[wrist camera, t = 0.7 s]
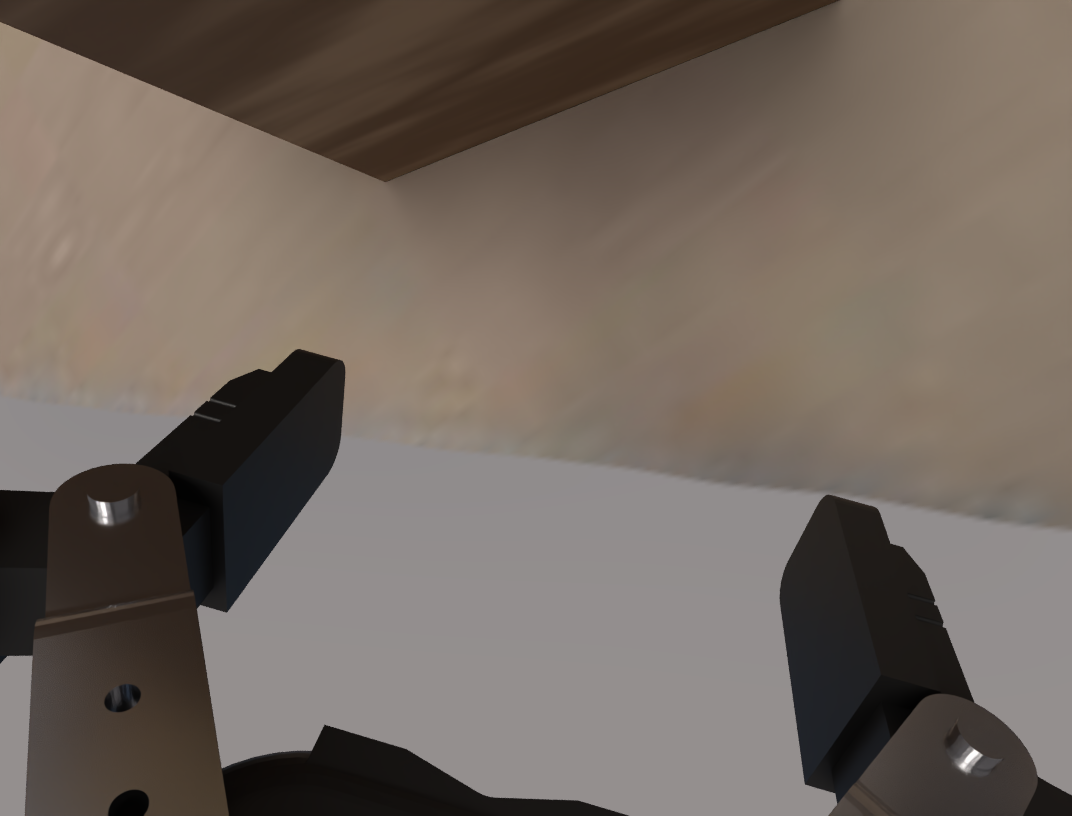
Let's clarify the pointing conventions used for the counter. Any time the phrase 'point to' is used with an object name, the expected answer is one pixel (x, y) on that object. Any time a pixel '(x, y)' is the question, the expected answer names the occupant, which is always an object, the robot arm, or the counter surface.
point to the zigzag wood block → (393, 61)
